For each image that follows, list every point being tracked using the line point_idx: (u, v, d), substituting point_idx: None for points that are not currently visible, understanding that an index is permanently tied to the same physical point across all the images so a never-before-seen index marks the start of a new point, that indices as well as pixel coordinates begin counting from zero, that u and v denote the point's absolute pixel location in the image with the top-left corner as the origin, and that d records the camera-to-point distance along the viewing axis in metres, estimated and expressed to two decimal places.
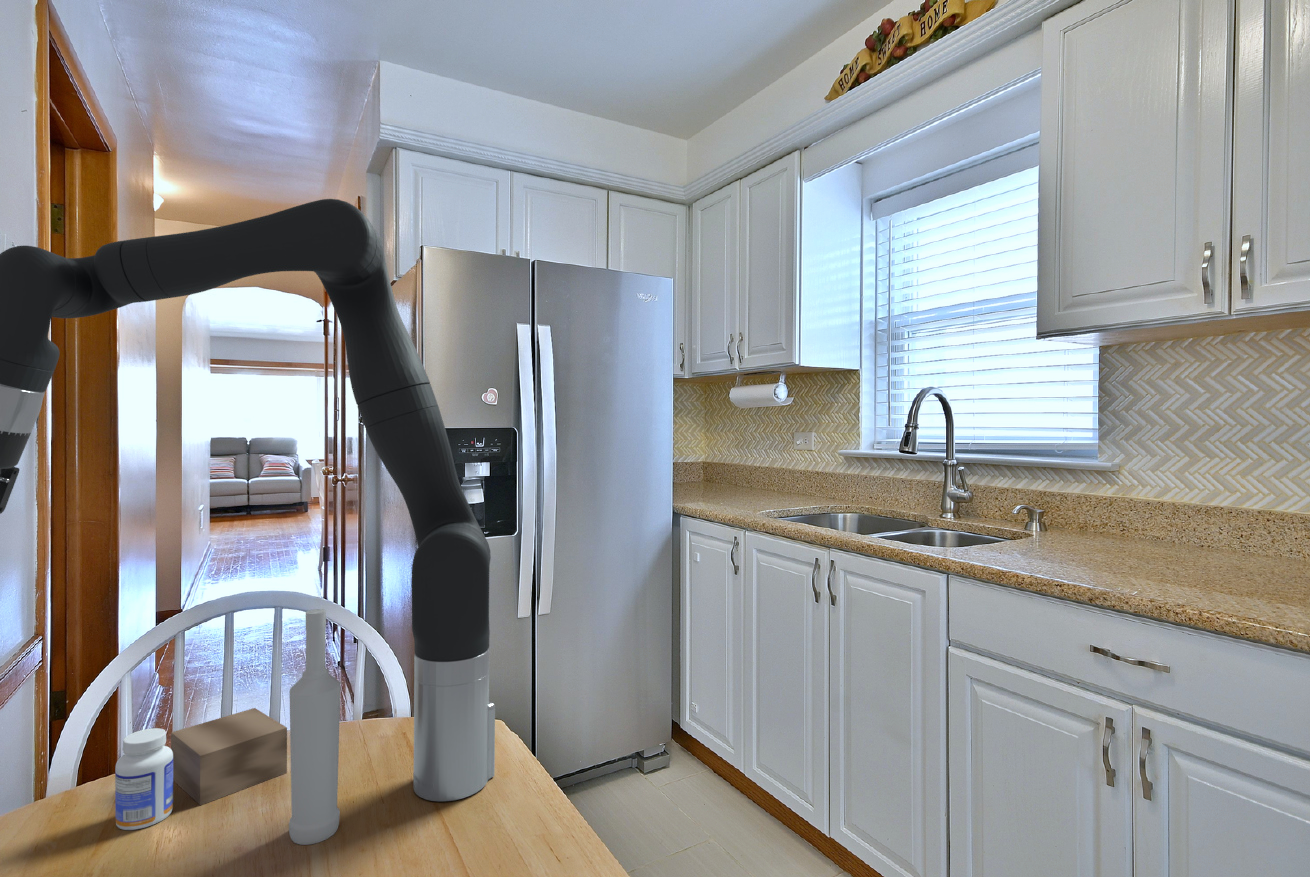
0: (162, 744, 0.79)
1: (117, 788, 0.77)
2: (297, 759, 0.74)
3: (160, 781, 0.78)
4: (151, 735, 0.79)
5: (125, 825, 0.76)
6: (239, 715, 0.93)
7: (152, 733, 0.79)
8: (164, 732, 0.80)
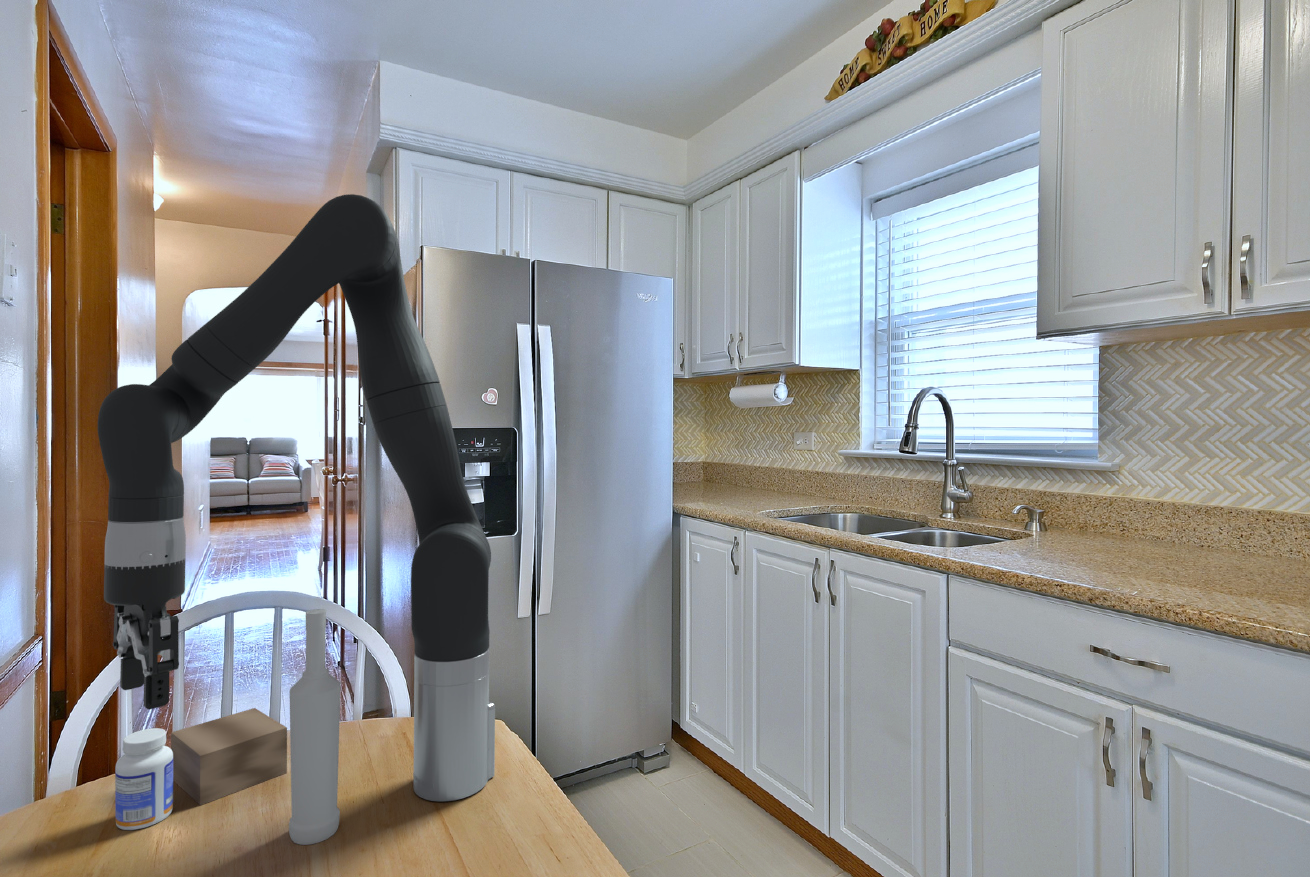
0: (162, 744, 0.79)
1: (117, 788, 0.77)
2: (297, 759, 0.74)
3: (160, 781, 0.78)
4: (151, 735, 0.79)
5: (125, 825, 0.76)
6: (239, 715, 0.93)
7: (153, 733, 0.79)
8: (164, 732, 0.80)
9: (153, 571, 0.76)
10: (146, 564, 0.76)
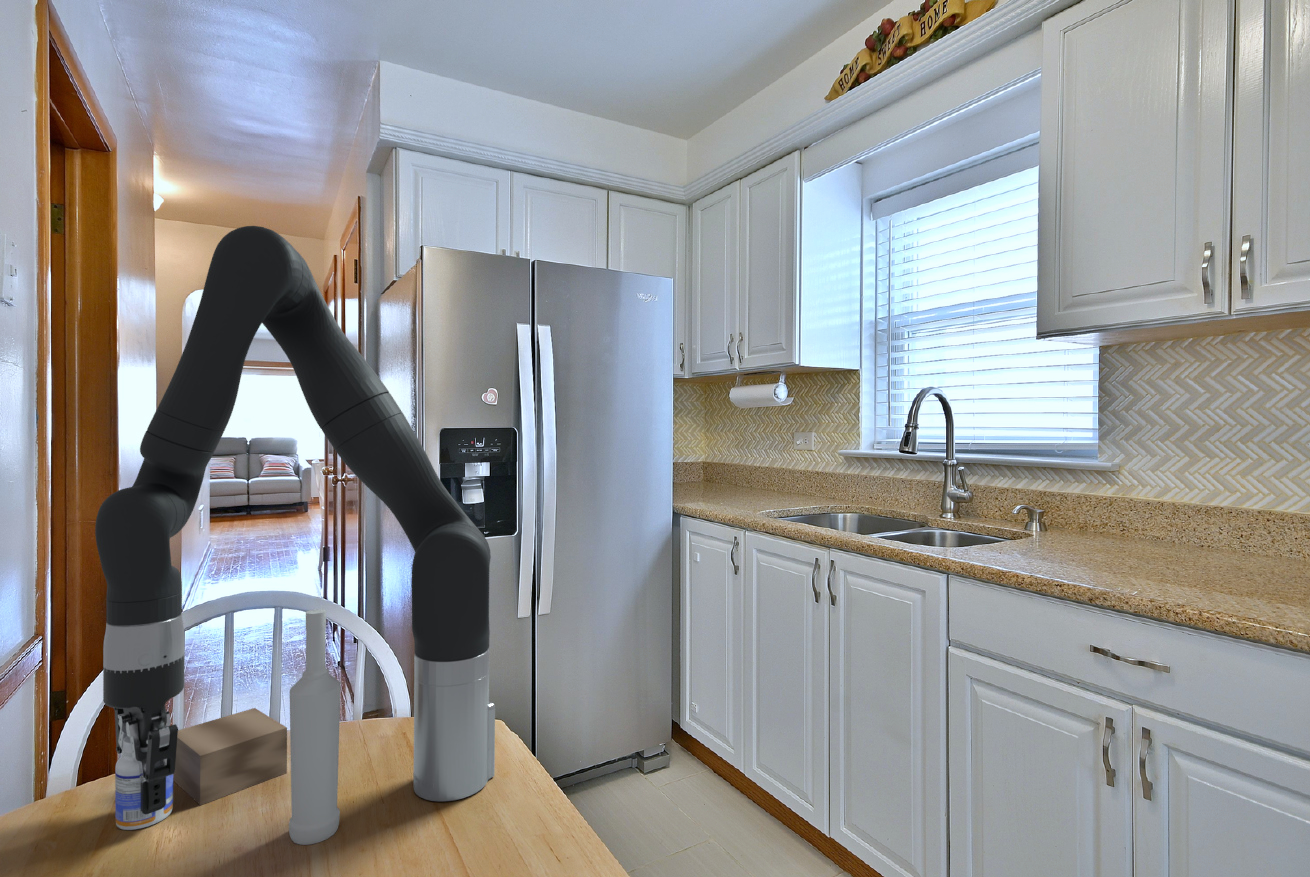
0: None
1: (117, 788, 0.76)
2: (297, 759, 0.74)
3: None
4: None
5: (125, 825, 0.76)
6: (239, 715, 0.93)
7: None
8: None
9: (152, 673, 0.76)
10: (145, 667, 0.76)
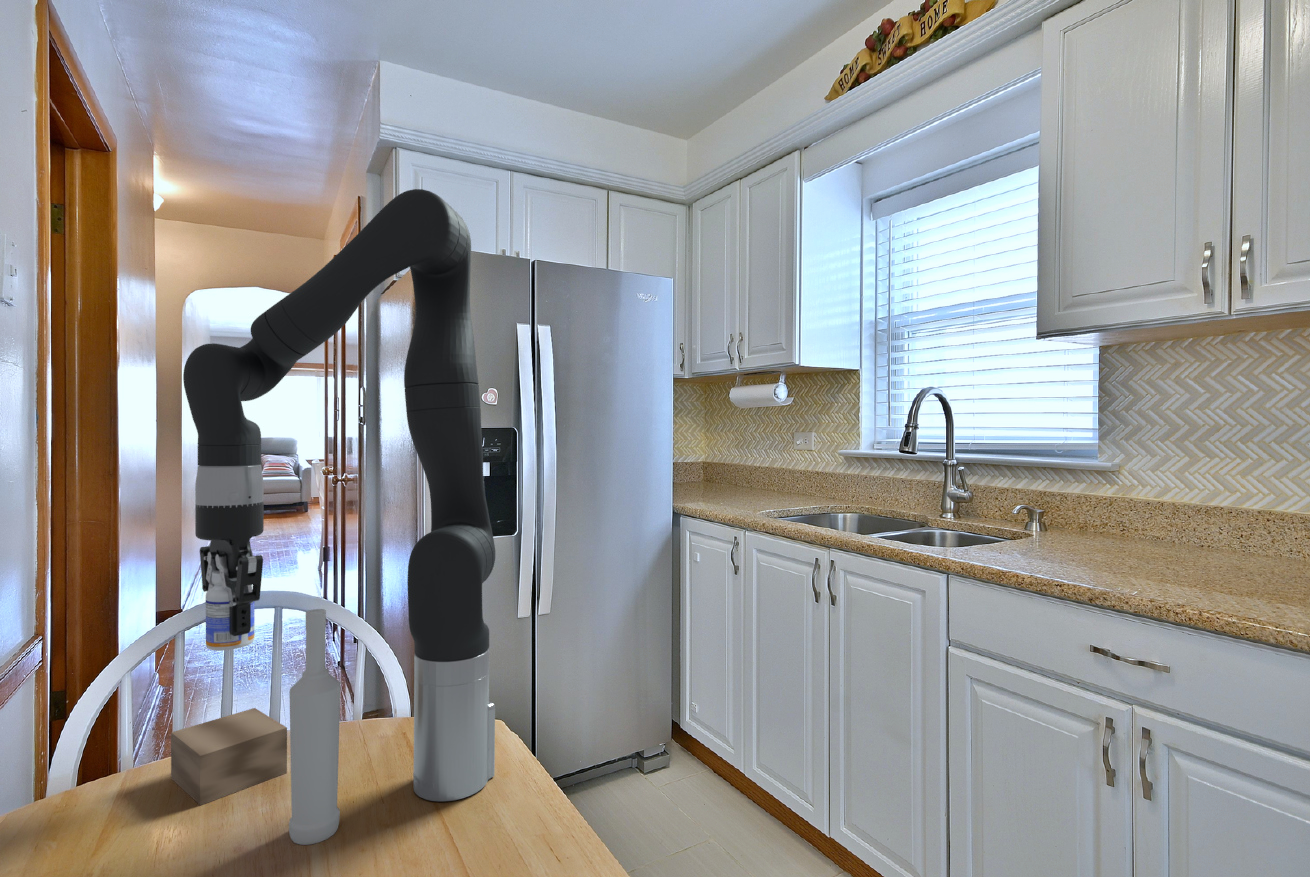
0: None
1: (208, 613, 0.86)
2: (297, 759, 0.74)
3: None
4: None
5: (216, 646, 0.86)
6: (239, 715, 0.93)
7: None
8: None
9: (239, 510, 0.86)
10: (233, 503, 0.85)
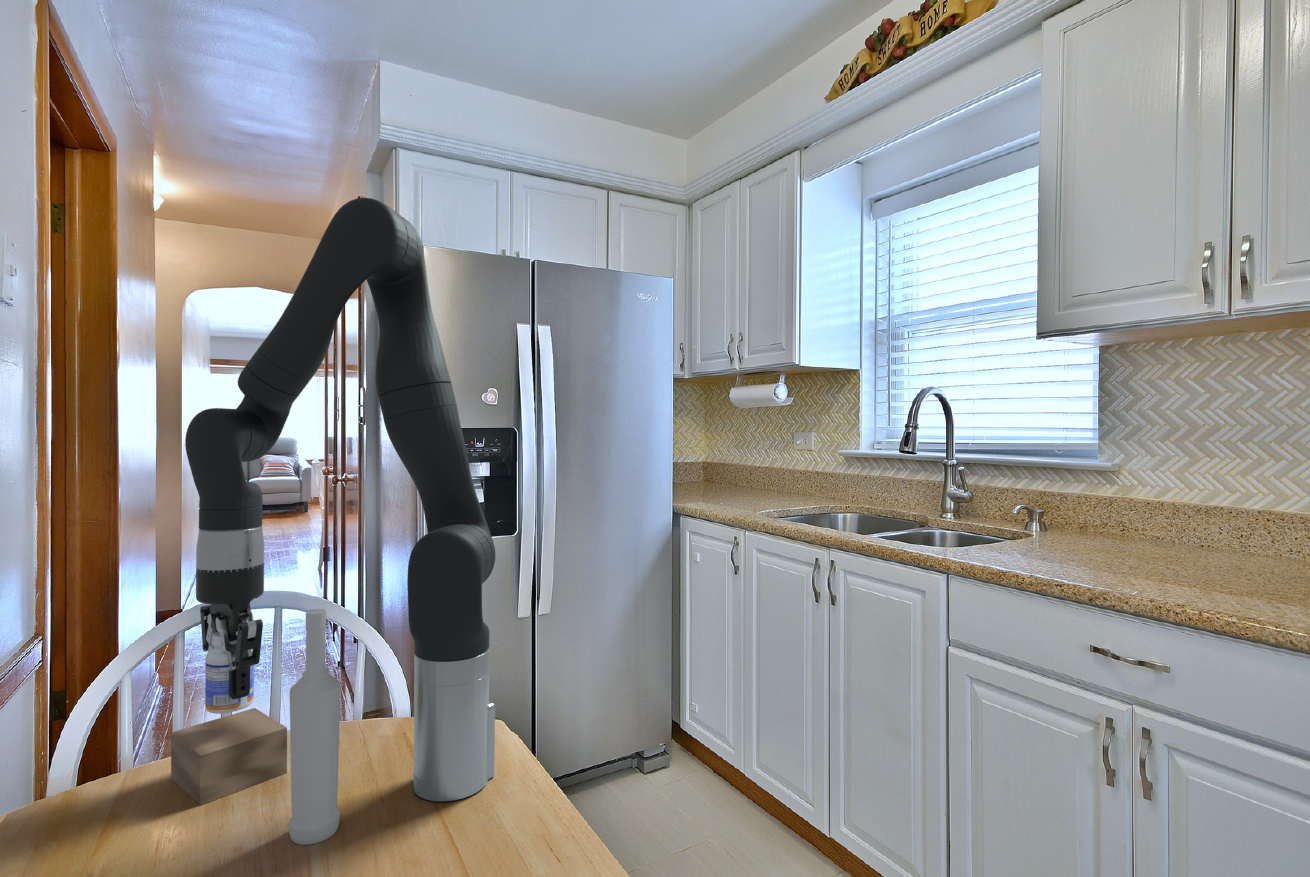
0: None
1: (208, 676, 0.86)
2: (297, 759, 0.74)
3: None
4: None
5: (215, 709, 0.86)
6: (239, 715, 0.93)
7: None
8: None
9: (240, 574, 0.86)
10: (234, 568, 0.85)
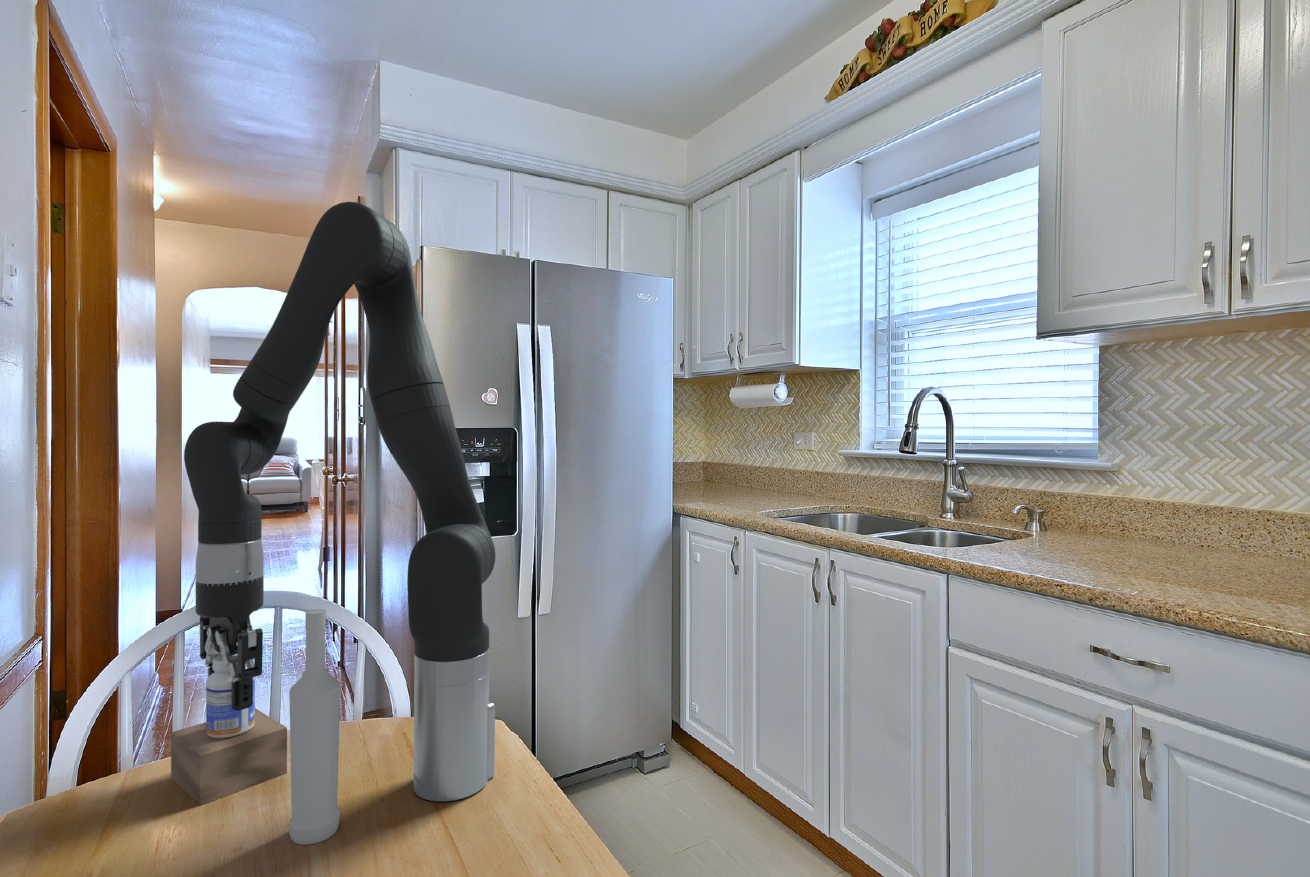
0: None
1: (208, 701, 0.86)
2: (297, 759, 0.74)
3: None
4: None
5: (216, 734, 0.86)
6: None
7: (237, 654, 0.89)
8: None
9: (239, 587, 0.86)
10: (233, 581, 0.85)
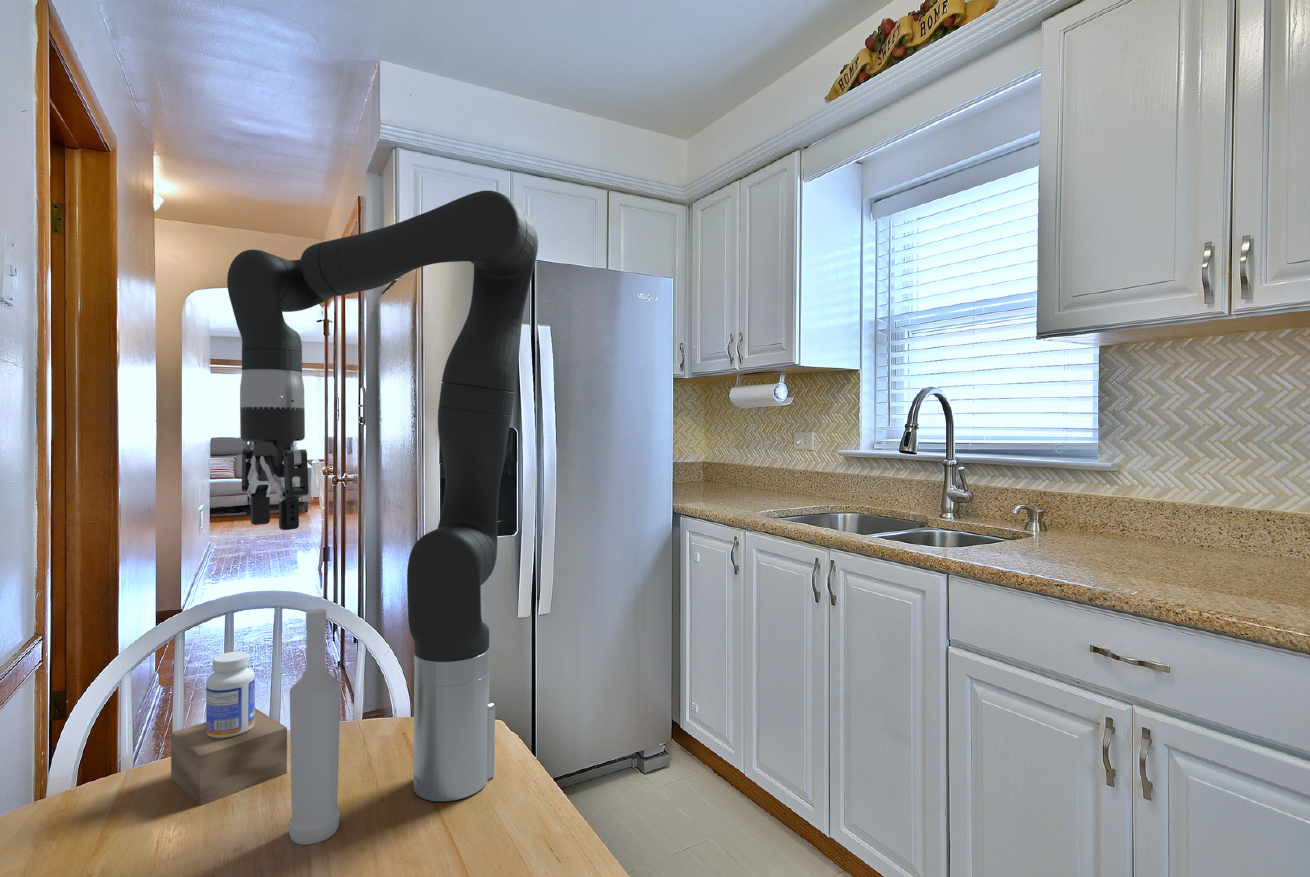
0: (246, 664, 0.88)
1: (208, 701, 0.86)
2: (297, 759, 0.74)
3: (245, 696, 0.87)
4: (236, 656, 0.88)
5: (216, 734, 0.86)
6: None
7: (237, 654, 0.89)
8: (247, 654, 0.89)
9: (283, 412, 0.88)
10: (277, 405, 0.88)
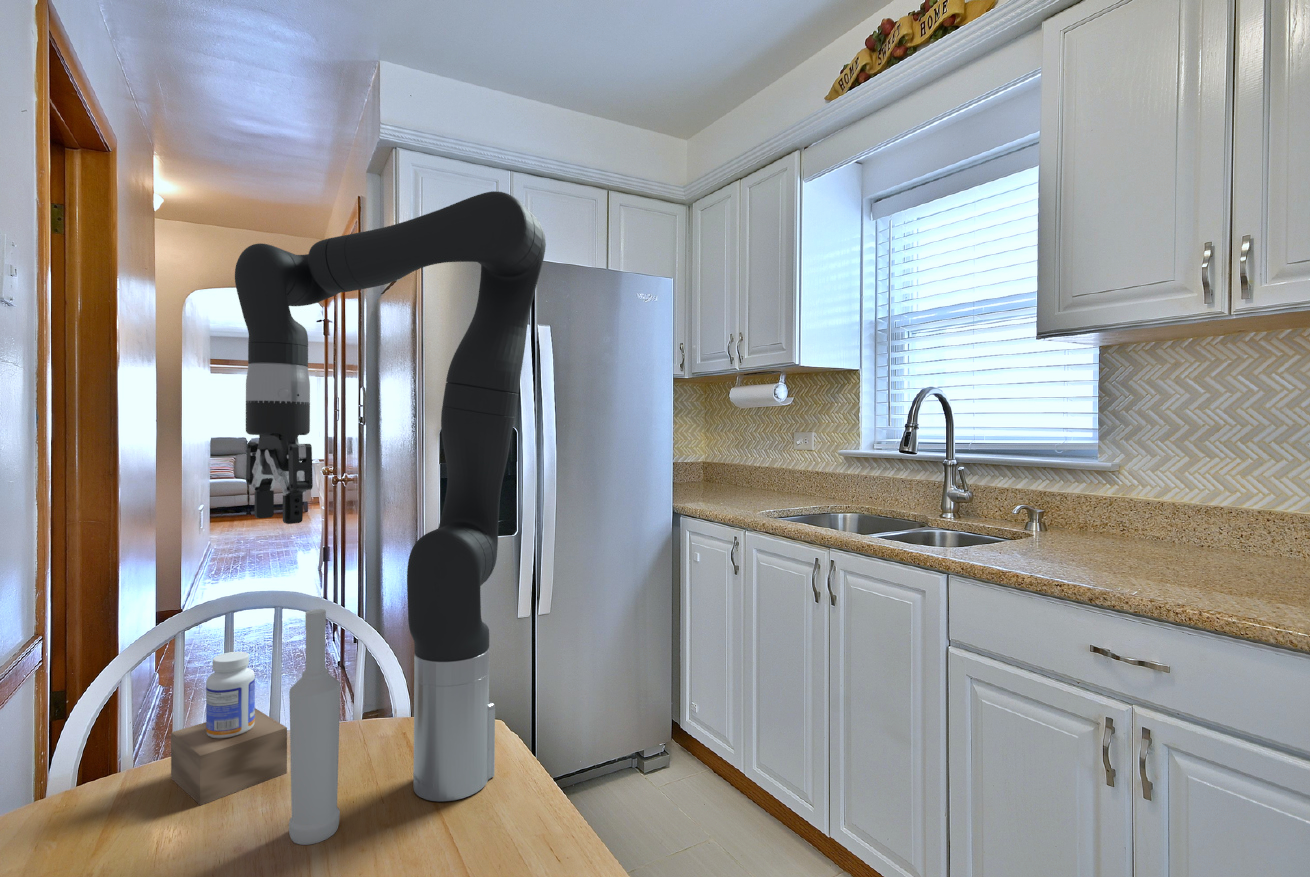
0: (246, 664, 0.88)
1: (208, 701, 0.86)
2: (297, 759, 0.74)
3: (245, 696, 0.87)
4: (236, 656, 0.88)
5: (216, 734, 0.86)
6: None
7: (237, 654, 0.89)
8: (247, 654, 0.89)
9: (288, 406, 0.88)
10: (283, 399, 0.88)
